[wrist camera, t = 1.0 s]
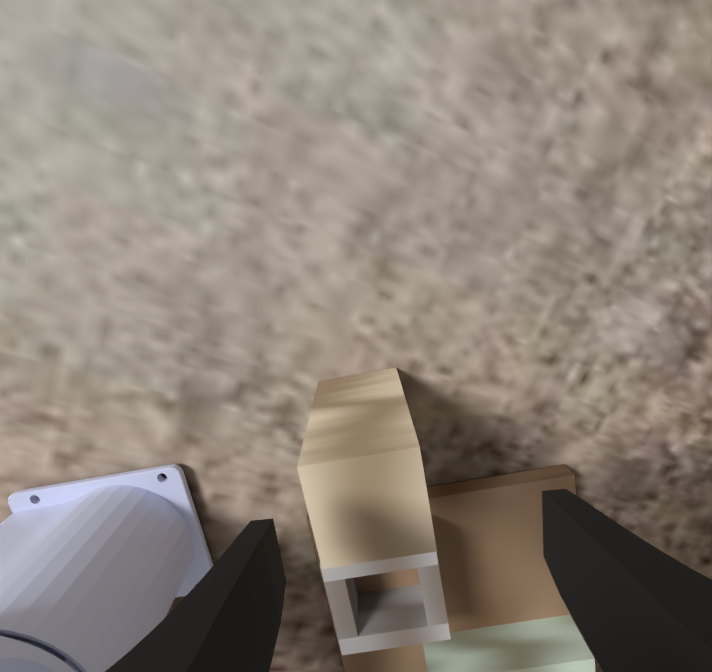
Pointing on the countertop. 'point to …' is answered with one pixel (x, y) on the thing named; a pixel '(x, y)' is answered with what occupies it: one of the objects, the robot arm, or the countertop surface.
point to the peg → (364, 472)
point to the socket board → (463, 589)
